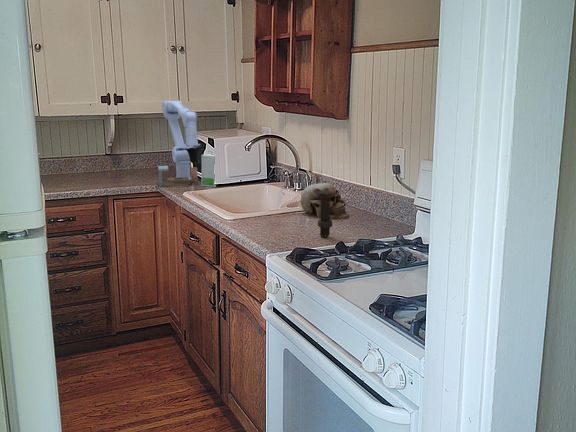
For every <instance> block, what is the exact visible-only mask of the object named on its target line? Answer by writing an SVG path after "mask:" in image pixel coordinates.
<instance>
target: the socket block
mask: <svg viewBox="0 0 576 432" xmlns="http://www.w3.org/2000/svg"><path fill="white" fill-rule="evenodd" d="M163 187H170V188H171V187H190V180H189V178H188V177H177V176H176V177H162V188H163Z"/></svg>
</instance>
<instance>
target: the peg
mask: <svg viewBox="0 0 576 432" xmlns="http://www.w3.org/2000/svg"><path fill="white" fill-rule="evenodd" d="M190 177H191V180H190V181H191V184H192V185H194V184H195V185H196V184H198V167H195V166H193V167H190Z"/></svg>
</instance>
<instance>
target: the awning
mask: <svg viewBox="0 0 576 432" xmlns="http://www.w3.org/2000/svg"><path fill="white" fill-rule="evenodd" d="M157 168H158V169H157V170H158V187H159V188H163V180H162V178H163V172H165V171H167V172H168V171H169V166H168V165H158V166H157Z"/></svg>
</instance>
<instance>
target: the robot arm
mask: <svg viewBox="0 0 576 432" xmlns="http://www.w3.org/2000/svg"><path fill="white" fill-rule="evenodd" d="M161 105H162V106H161V109H162V113H163V116H164V118H165V119H167V122H168V124H169V128H170V132H171V135H172V139H173V142H174V147H172V150H171V156H172V161H173V162H174V164H175V172H176V177H188V178H189V181H192V180H191V165H190V164H191V163H192V164H197V162H198V154H199V151H200V149H199V148H197V147H199V146H201V144H200V143H198V142H199V141H198V132H197V123H198V114H197V112H196V111H191V110H190V109H189V108H188V107H187V106H186V105H185V106H183V102H182V101H181V100H163V101H162V103H161ZM180 118H181V120H182V123H183V127H184V131H185V142H184V138H183V134H182V131H181V128H180V124H179V120H178V119H180ZM185 143H186V144H185Z"/></svg>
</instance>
